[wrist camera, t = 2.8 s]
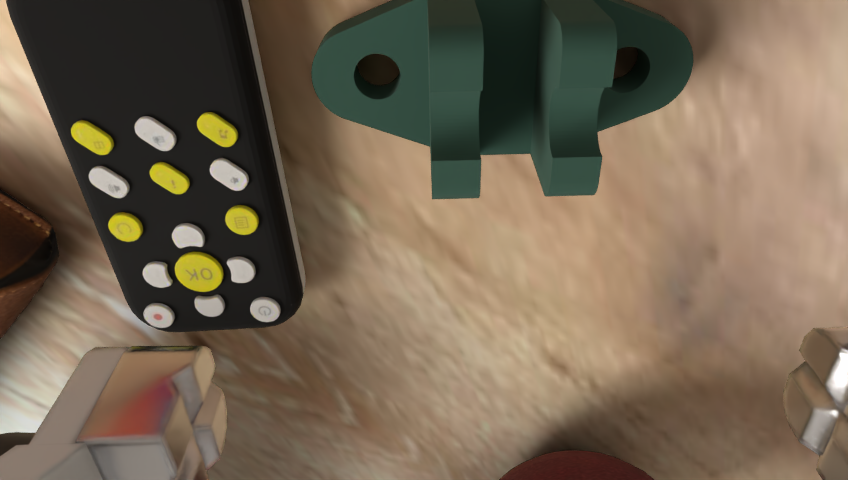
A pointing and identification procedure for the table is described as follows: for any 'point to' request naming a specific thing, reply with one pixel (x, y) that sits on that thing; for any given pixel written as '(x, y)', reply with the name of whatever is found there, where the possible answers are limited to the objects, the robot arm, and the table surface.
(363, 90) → the mount
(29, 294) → the sunglasses case
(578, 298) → the table surface
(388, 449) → the table surface
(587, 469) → the decorative ball
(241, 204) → the remote control
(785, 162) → the table surface
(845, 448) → the robot arm
